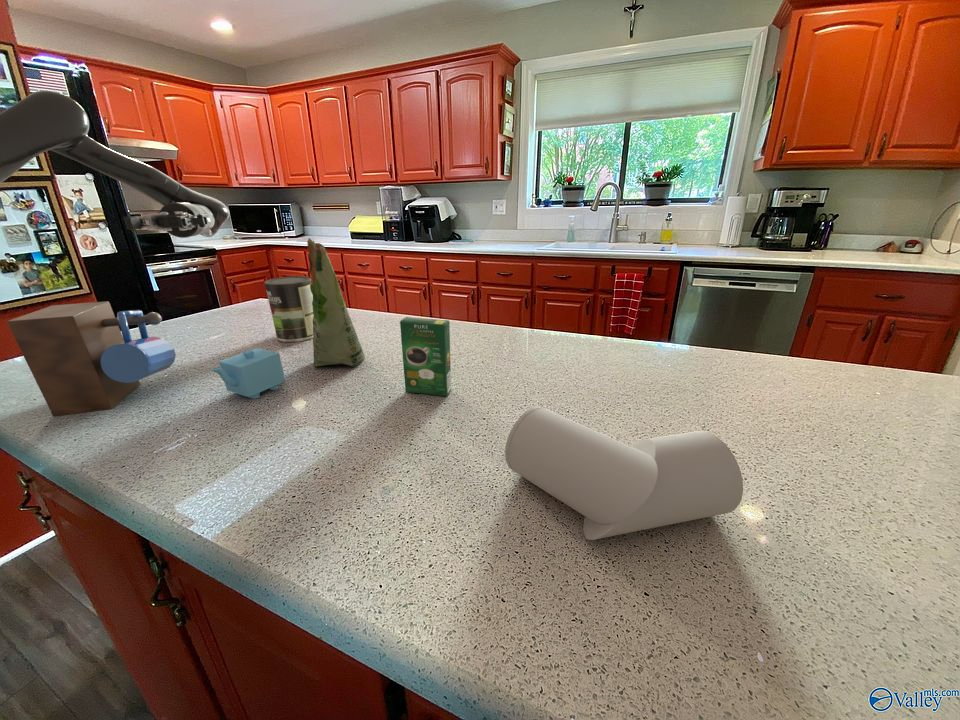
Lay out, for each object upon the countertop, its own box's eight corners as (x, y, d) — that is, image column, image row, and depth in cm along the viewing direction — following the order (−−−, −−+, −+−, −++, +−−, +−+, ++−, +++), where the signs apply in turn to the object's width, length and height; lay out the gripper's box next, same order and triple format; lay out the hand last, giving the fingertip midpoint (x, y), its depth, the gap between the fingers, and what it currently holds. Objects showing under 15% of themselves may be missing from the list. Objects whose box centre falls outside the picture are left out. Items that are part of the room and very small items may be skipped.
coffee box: (454, 390, 70) (450, 318, 65) (448, 397, 67) (444, 323, 62) (411, 386, 72) (404, 316, 67) (404, 393, 69) (397, 320, 64)
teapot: (231, 411, 64) (218, 368, 61) (209, 403, 67) (196, 362, 64) (293, 382, 74) (285, 344, 71) (272, 376, 77) (263, 340, 74)
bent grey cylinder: (550, 582, 33) (753, 538, 37) (546, 464, 31) (759, 430, 35) (498, 485, 50) (640, 461, 54) (493, 405, 48) (640, 386, 52)
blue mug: (106, 385, 63) (138, 373, 72) (153, 380, 65) (178, 368, 74) (86, 314, 61) (122, 311, 70) (135, 310, 63) (164, 307, 72)
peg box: (53, 416, 64) (6, 321, 58) (89, 390, 73) (52, 305, 67) (168, 401, 68) (136, 310, 62) (190, 378, 77) (163, 297, 71)
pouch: (346, 375, 76) (324, 241, 67) (295, 369, 80) (267, 240, 70) (376, 355, 86) (361, 235, 77) (330, 350, 90) (309, 235, 80)
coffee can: (287, 345, 93) (274, 286, 88) (270, 336, 100) (257, 280, 94) (328, 334, 100) (318, 279, 95) (309, 327, 107) (299, 274, 101)
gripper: (144, 203, 90) (105, 203, 75) (215, 201, 94) (190, 202, 79) (155, 237, 93) (119, 244, 78) (224, 235, 96) (201, 240, 82)
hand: (155, 223), depth 79 cm, fingers open, 8 cm apart
